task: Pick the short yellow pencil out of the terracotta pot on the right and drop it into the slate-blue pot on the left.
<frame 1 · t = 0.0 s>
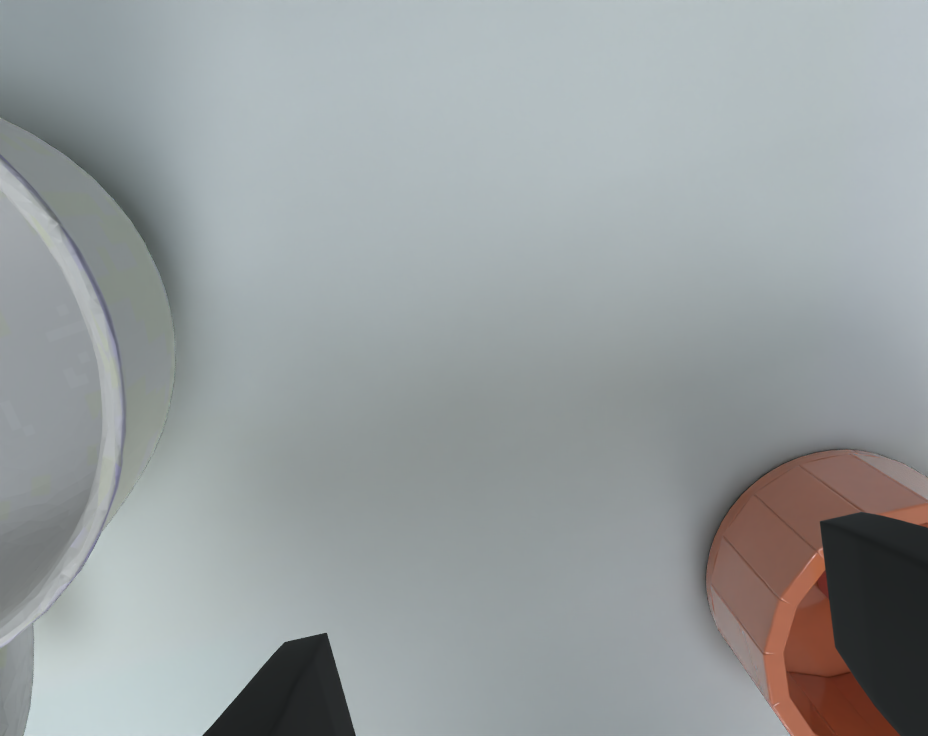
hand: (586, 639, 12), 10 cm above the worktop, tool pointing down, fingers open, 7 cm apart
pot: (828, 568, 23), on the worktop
teacup: (8, 383, 21), on the worktop
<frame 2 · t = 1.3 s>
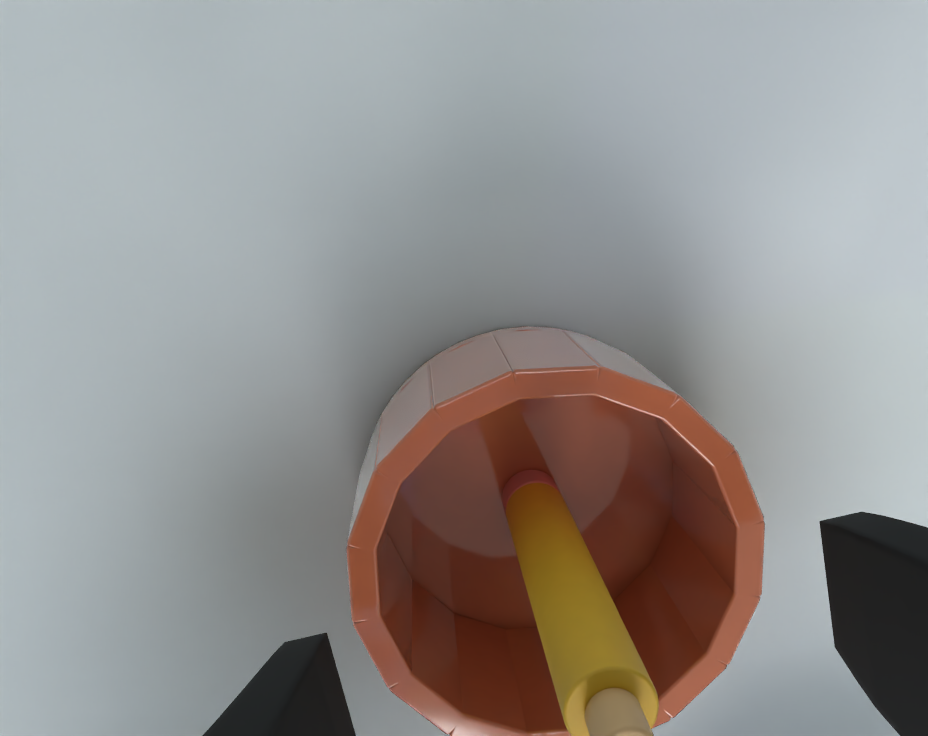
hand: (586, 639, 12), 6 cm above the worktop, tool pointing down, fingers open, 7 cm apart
pencil: (529, 495, 17), resting on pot
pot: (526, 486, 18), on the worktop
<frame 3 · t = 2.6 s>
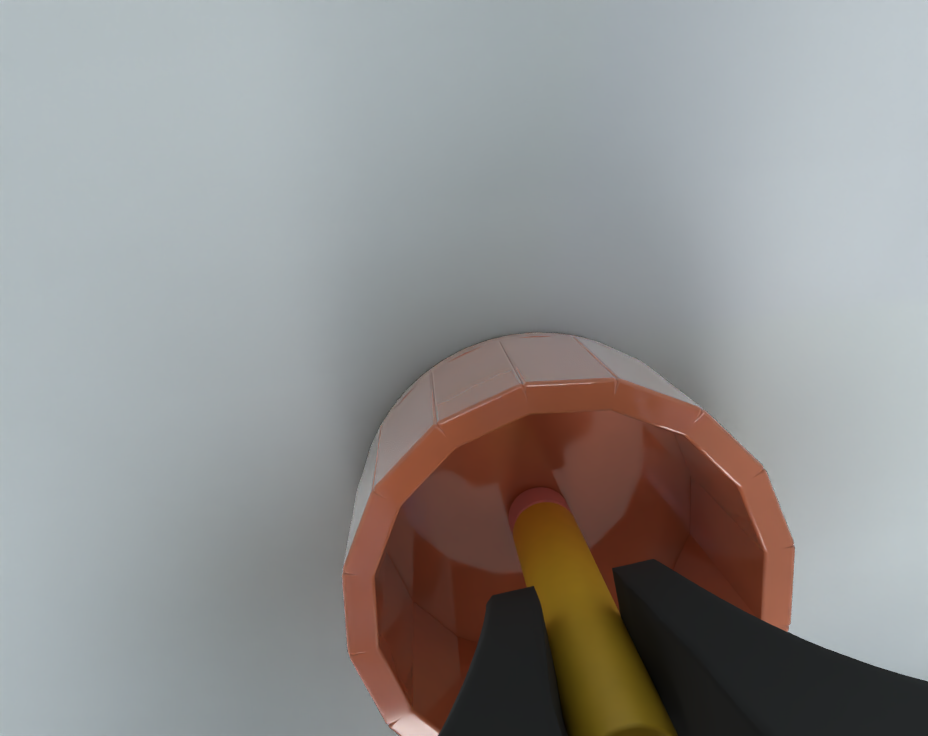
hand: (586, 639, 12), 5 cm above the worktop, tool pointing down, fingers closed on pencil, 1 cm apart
pencil: (538, 514, 16), point 1 cm above the worktop, touching gripper
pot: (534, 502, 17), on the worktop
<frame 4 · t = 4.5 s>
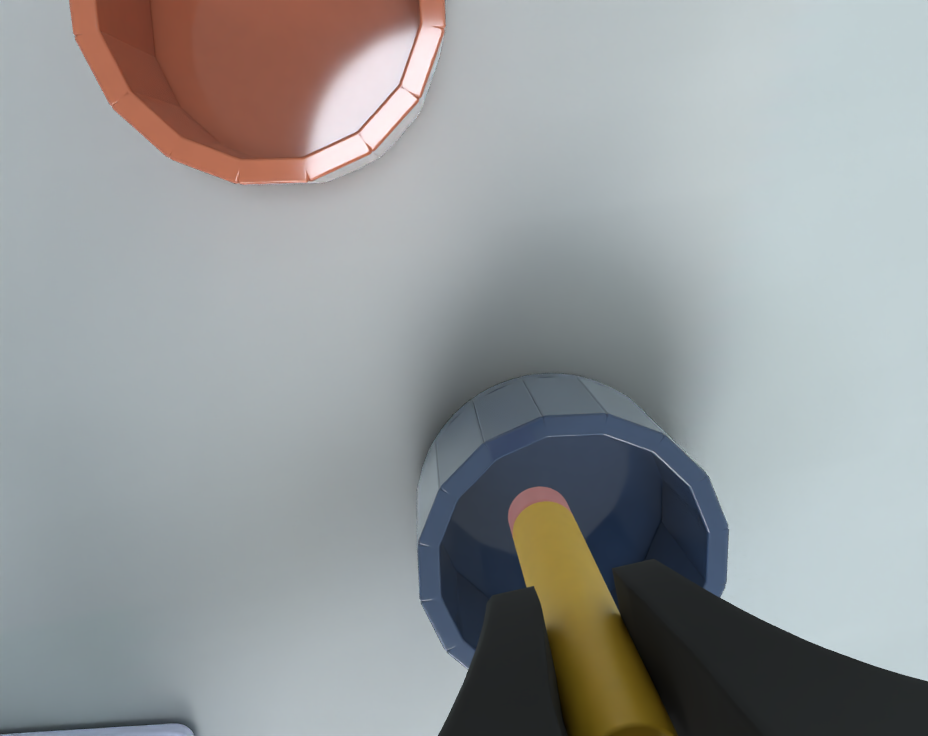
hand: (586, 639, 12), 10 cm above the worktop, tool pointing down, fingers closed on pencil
pencil: (538, 513, 16), point 6 cm above the worktop, touching gripper
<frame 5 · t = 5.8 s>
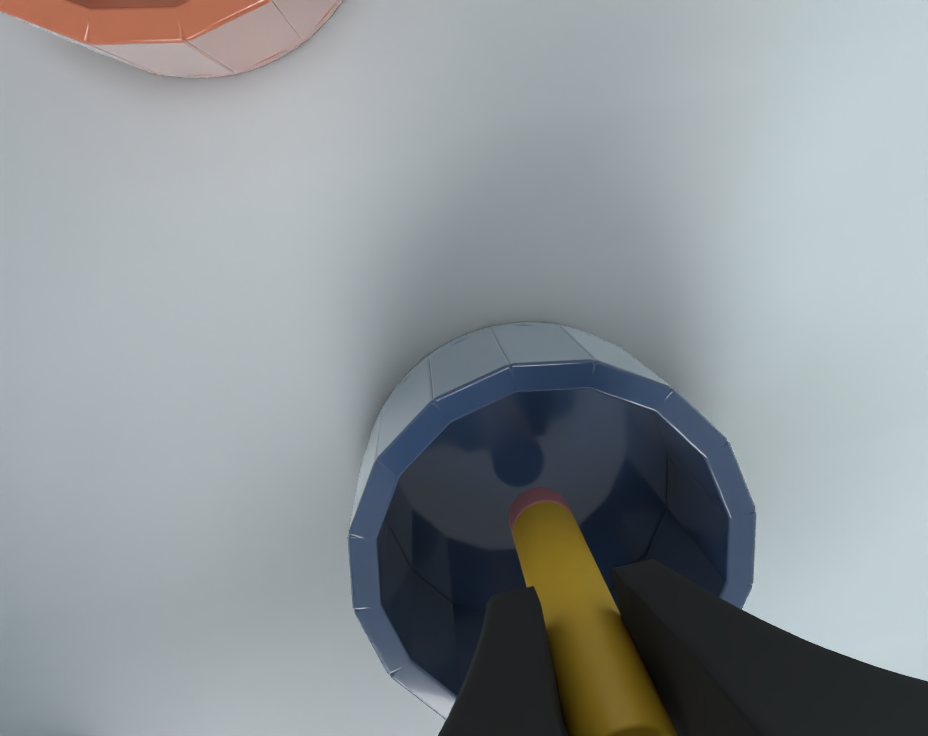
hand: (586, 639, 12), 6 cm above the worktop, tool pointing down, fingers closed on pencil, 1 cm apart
pencil: (538, 514, 16), point 2 cm above the worktop, touching gripper
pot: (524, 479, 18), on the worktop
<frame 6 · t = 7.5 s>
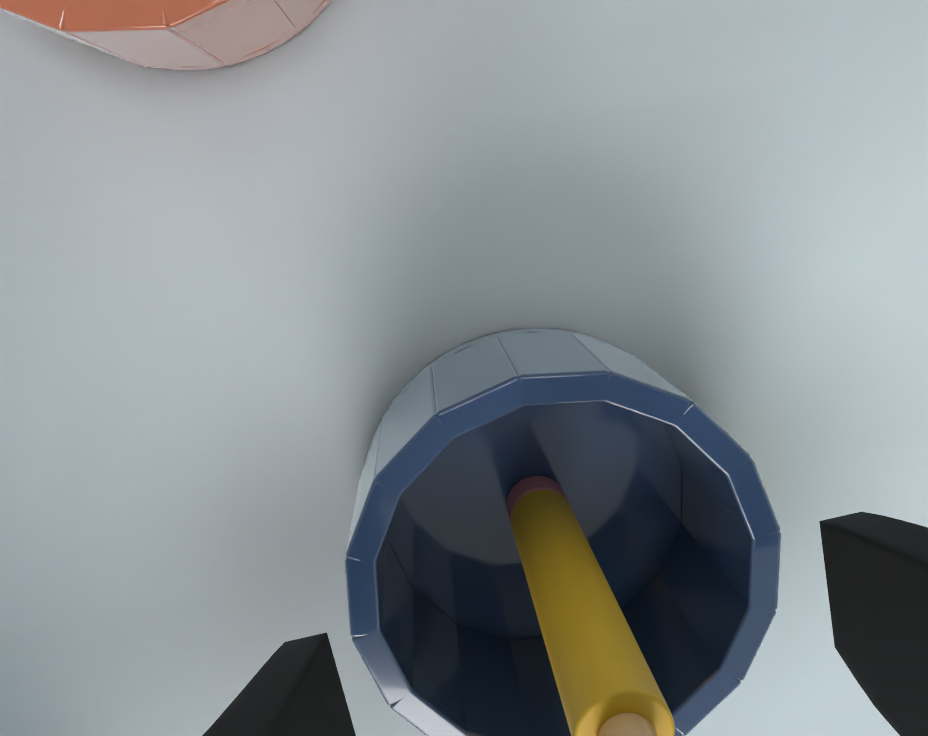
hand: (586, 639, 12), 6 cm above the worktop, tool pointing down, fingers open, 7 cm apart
pencil: (535, 502, 17), resting on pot
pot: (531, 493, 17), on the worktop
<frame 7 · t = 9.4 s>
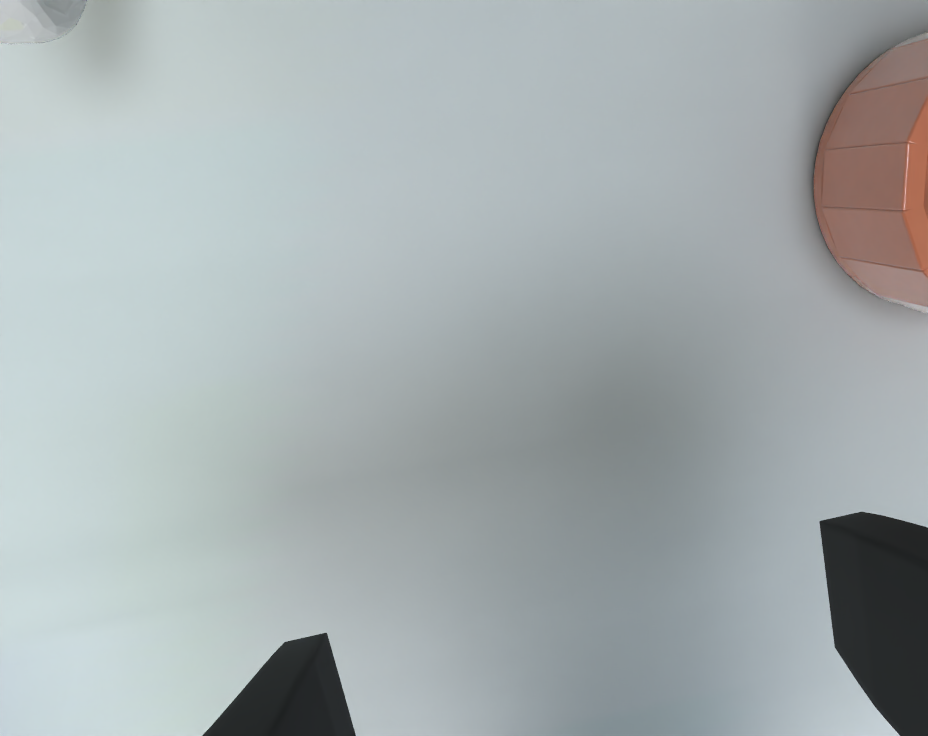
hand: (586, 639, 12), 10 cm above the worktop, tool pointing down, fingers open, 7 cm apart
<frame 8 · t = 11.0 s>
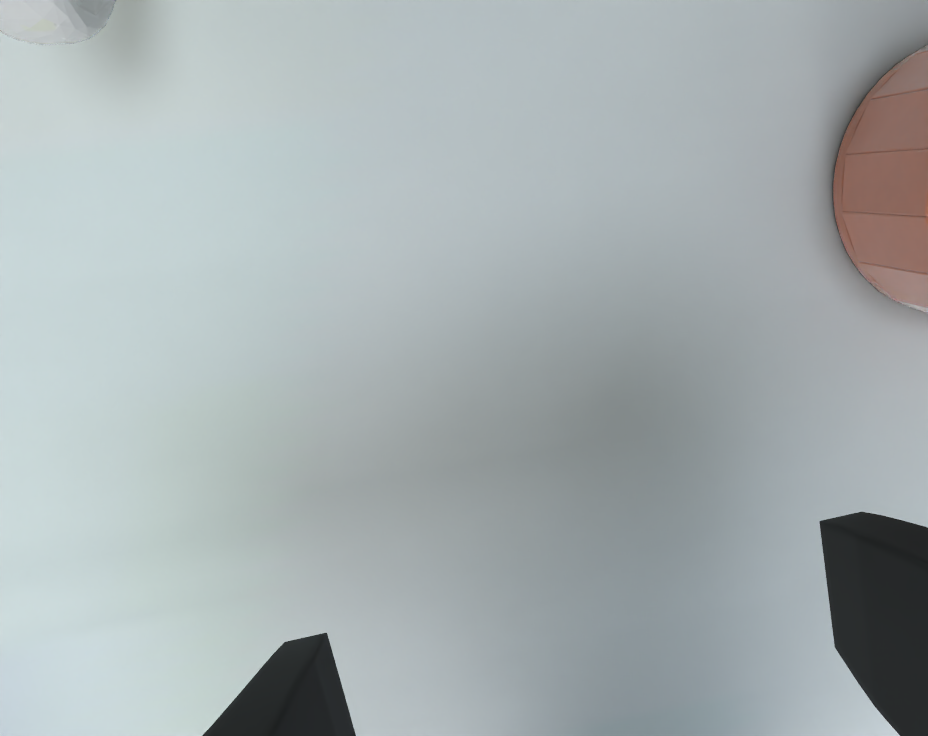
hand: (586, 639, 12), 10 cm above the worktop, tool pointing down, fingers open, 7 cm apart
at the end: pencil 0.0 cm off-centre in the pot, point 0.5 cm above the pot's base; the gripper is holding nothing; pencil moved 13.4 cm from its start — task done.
